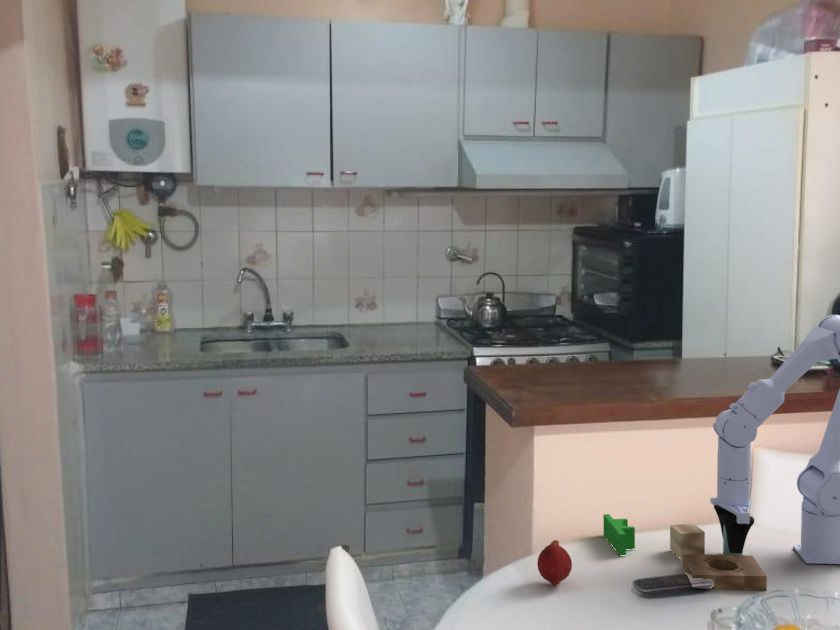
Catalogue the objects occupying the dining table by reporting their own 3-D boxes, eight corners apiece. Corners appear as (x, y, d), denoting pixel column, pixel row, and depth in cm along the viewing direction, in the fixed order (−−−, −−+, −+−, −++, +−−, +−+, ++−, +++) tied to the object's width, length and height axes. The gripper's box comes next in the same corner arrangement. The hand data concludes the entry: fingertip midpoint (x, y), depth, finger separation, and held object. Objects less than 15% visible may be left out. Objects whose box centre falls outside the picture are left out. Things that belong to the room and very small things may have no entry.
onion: (550, 594, 144) (550, 548, 143) (531, 582, 149) (530, 537, 148) (578, 587, 146) (578, 542, 145) (558, 575, 151) (557, 531, 151)
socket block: (752, 569, 152) (752, 555, 152) (766, 590, 143) (766, 576, 143) (682, 567, 153) (682, 554, 153) (692, 589, 144) (692, 574, 144)
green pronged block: (639, 557, 159) (639, 533, 159) (620, 558, 159) (620, 534, 158) (622, 535, 170) (621, 512, 170) (603, 536, 170) (603, 513, 169)
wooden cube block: (693, 548, 162) (693, 523, 161) (704, 558, 157) (704, 531, 157) (670, 550, 161) (670, 525, 161) (680, 560, 157) (681, 533, 156)
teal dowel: (740, 553, 159) (740, 522, 158) (744, 560, 156) (745, 528, 155) (721, 553, 159) (721, 522, 159) (725, 560, 156) (725, 528, 155)
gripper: (702, 465, 163) (702, 533, 165) (720, 488, 149) (719, 563, 151) (741, 465, 163) (740, 534, 164) (762, 488, 148) (761, 564, 150)
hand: (732, 548), depth 157 cm, fingers closed on teal dowel, 3 cm apart
